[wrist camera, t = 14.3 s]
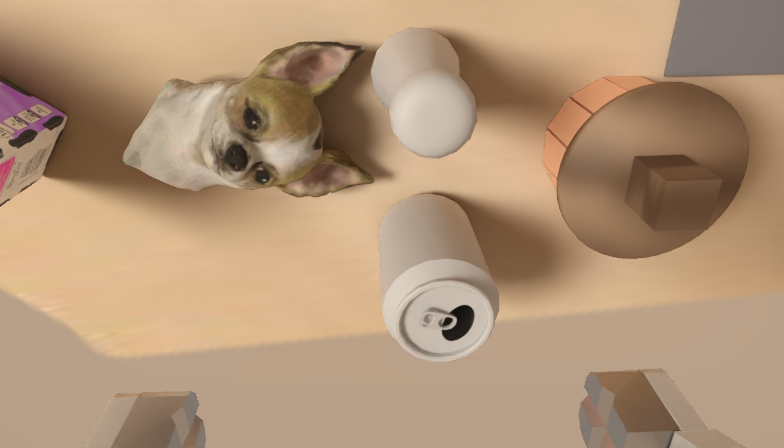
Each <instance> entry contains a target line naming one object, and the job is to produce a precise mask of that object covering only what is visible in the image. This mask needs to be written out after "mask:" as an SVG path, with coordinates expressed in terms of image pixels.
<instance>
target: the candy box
mask: <svg viewBox="0 0 784 448" xmlns="http://www.w3.org/2000/svg"><path fill="white" fill-rule="evenodd" d="M66 121H67V116H66V114H64V113H62V112H60V111H59V110H57V109H55V108H54V107H52V106H50V105H49V104H47V103H45V102H43V101H41V100H40V99H38V98H36V97H34V96H32V95H30V94H28V93H26V92H24V91H23V90H21V89H19V88H17V87H16V86H14V85H13V84H11V83H9V82H7V81H6V80H4V79H2V78H0V206H2V205H3V204H5V203H6V202H7V201H9V200H10V199H12V198H13V197H14V196H16V195H17V194H19V193H20V192H22V191H23V190H25V189H26V188H28V187H29V186H31V185H32V184H33V183H35V182H36V181H37V180H39V179H40V178H41V176H42V174H43V172H44V170H45V167H46V165H47V163H48V161H49V158H50V156H51V154H52V152H53V149H54V147H55V145H56V143H57V141H58V139H59V138H60V136H61V133H62V131H63V129H64V126H65V123H66Z"/></svg>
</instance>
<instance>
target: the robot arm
mask: <svg viewBox="0 0 784 448" xmlns="http://www.w3.org/2000/svg"><path fill="white" fill-rule="evenodd" d="M584 387H585V389H586V390H587V393H588V396H587V397H586V398H585V399H584V400H583V401H582V402H581V405H580V411H579V420H580V429H581V432H582V436H583V439H584V441H585V444H586V446H587V448H745V447H744V446H742V445H741V444H739V443H737V442H736V441H734V440H732V439H731V438H729V437H727V436H726V435H724V434H723V433H721V432H719V431H717V430H709V429H708V428H707V427H706V425H705V424H704V422H703V421H702V420H701V418H700V417H699V416H698V414H697V413H696V412H695V410H694V409H693V407H692V406H691V405H690V403H689V402H688V401H687V399H686V398H685V397H684V395H683V394H682V392H681V391H680V390H679V388H678V387H677V386H676V384H675V383H674V381H673V380H672V379H671V378H670V376H669V375H668V373H667V372H666V371H664V370H663V369H661V368H660V369H643V370H626V371H608V372H591V373H589V375H588V376H587V378H586V382H585V386H584ZM198 406H199V403H198V400H197V396H196V393H194V392H192V391H187V392H144V393H122V394H121V393H118V394H116V395H115V396H114V397H113V398H112V399H111V400H110V402H109V403H108V405H107V407H106V409H105V411H104V412H103V414H102V416H101V418H100V420H99V421H98V423H97V425H96V427H95V429H94V430H93V432H92V434H91V436H90V438H89V440H88V441H87V443H86V445H85V447H84V448H205V442H206V438H205V427H204V423H203V420H202V419H200V418H199V417H198V416H197V415H196V412H197V409H198Z"/></svg>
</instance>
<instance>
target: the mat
mask: <svg viewBox="0 0 784 448" xmlns="http://www.w3.org/2000/svg"><path fill="white" fill-rule="evenodd" d="M756 74H784V0H681V1H680V6H679V10H678V14H677V19H676V23H675V28H674V32H673V36H672V41H671V45H670V50H669V54H668V59H667V63H666V67H665V72H664V76H666V77H673V76H715V75H756Z"/></svg>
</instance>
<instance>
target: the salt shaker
mask: <svg viewBox="0 0 784 448" xmlns="http://www.w3.org/2000/svg"><path fill="white" fill-rule="evenodd" d="M371 76H372V82H373V88H374V92H375V93H376V95H377V96H378V98H379V99H380V101H381V102H382V104H383V105H384V107H385V108H386V109H387V110H388V111H389V114H390V120H391V127H392V131H393V133H394V134H395V136H396V137H397V138H398V140H399V141H400V143H401V144H402V146H403V147H404V148H405V149H407V150H408V151H410V152H412V153H414V154H416V155H418V156H420V157H426V158H441V157H444V156H447V155H449V154H452V153H454V152H457V151H458V150H459V149H460V148H461V147H462V146H463V145H464V144H465V143H466V142H467V141H468V140H469V139H470V138H471V135H472V132H473V130H474V127H475V124H476V122H477V117H476V100H475V97H474V95H473V94H472V92H471V90H470V89H469V87H468V86H467V84H466V82H465V81H464V80H463V79H461V78H460V68H459V57H458V55H457V54H456V52H455V50H454V49H453V47H452V46H451V44H450V42H449V41H448V40H447V39H446V38H444V37H443V36H441V35H440V34H438V33H437V32H435V31H433V30H432V29H425V28H411V27H409V28H407V29H404V30H402V31H399V32H397V33H395V34H392V35H390V37H389V38H388V39H387V40H386V41H385V42H384V43H383V44H382V46H381V47H380V48H379V49H378V50H377V52H376V55H375V59H374V62H373V65H372V69H371Z"/></svg>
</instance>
